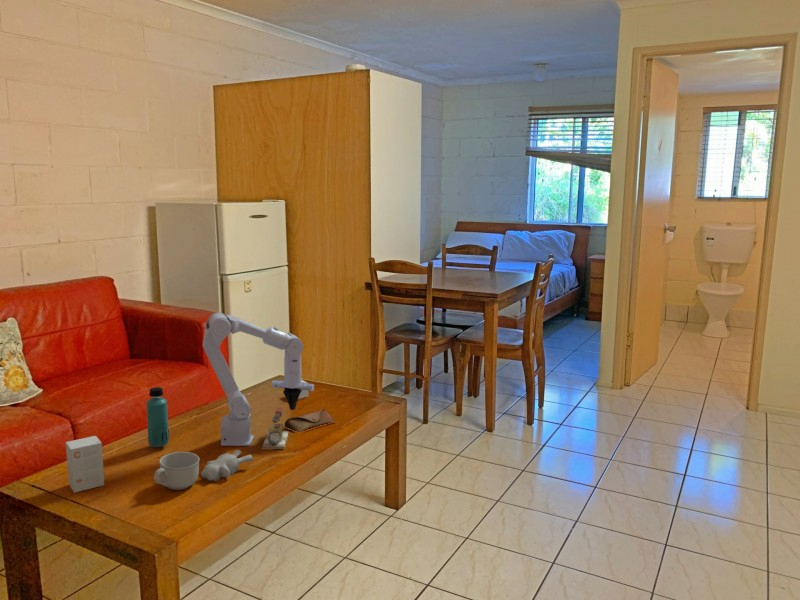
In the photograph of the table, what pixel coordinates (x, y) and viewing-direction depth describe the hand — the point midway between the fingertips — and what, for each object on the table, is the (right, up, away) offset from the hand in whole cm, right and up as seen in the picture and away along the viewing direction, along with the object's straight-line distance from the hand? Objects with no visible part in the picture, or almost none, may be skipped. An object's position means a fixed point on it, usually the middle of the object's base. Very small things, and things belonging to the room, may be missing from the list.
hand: (292, 408), depth 218 cm
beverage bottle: (-42, -11, -11) cm, 44 cm away
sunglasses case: (+5, -8, +11) cm, 15 cm away
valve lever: (-5, -3, -2) cm, 6 cm away
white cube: (-4, -2, +40) cm, 40 cm away
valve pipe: (-5, -10, -4) cm, 12 cm away
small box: (-52, -15, -38) cm, 66 cm away
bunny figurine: (-15, -15, -27) cm, 35 cm away
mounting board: (-5, -10, -4) cm, 12 cm away
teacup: (-27, -16, -37) cm, 49 cm away
